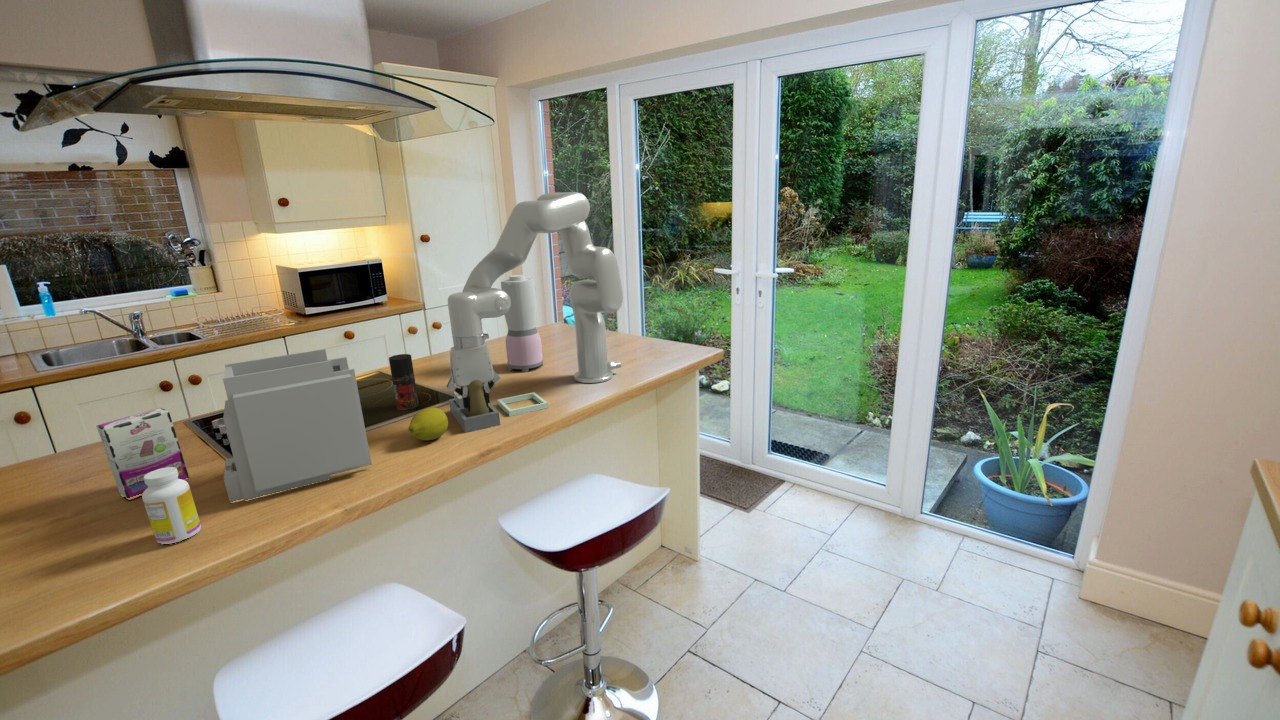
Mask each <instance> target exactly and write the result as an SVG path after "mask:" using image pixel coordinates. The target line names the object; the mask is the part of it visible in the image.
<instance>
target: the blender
mask: <svg viewBox="0 0 1280 720" xmlns="http://www.w3.org/2000/svg"><path fill="white" fill-rule="evenodd" d="M500 286H501V287H500V289H501V290H503V291H505V292H506V293H507V294H508V295H509V297H510V300H511V306H510V309H509V310H508V312H507V313H506V314H504V315H503V316H504V319H505V322H506V325H507V334H506V337H505V350H506V351H505V352H506V359H507V368H508V371H510V372H512V371H513V369H514V370H521V372H522V373H529V371H530V370H529V369H533V368H537V367H540V366H543V367H544V358H543V347H542V339H541V336H540V335H541V334H539V332H538V329H537V313H538V312H537V311H538V305H537V291H536V285H535V280H534V279H533V278H532V277H526V276H525V274H513V275H509V277H508V278H505V279H502V280H501V282H500Z"/></svg>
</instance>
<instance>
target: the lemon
mask: <svg viewBox="0 0 1280 720" xmlns="http://www.w3.org/2000/svg"><path fill="white" fill-rule="evenodd" d="M448 427H449V420H448V417H447V415H446V412H444V411H443V410H442V409H440V408H438V407H427V408H423V409H421V410H420V411H418V412H417V413H416V414H414V416H413V417H412V418H411V420H410V423H409V426H408V432H409V433H410V435H411V436H413V437H414V438H415V439H418V440H420V441H433V440H436V439H438V438H440V437H441V436H442V435H444V434H445V432H446V431H447V429H448Z"/></svg>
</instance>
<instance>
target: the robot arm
mask: <svg viewBox="0 0 1280 720" xmlns="http://www.w3.org/2000/svg"><path fill="white" fill-rule="evenodd" d="M590 211H591V204H590V201H589V199H588V198H587V197H586V195H584V194H583V193H582V192H577V191H565V192H562V191H561V192H557V191H556V192H547V193H543V194H541V195H540V196H539V197H538V196H537V198H536V200H525V201H520V202H518V203H517V204H516V205H515V206H514V207H513V209H512V210H511V213H510V215H509V217H508V219H507V221H506V224H505V225H504V228H503V229H502V233H501V235H500V236H499V238H498V240H497V243H496V245H495V247H494V248H493V249H492V250H491V251H489V252H488V253H487V254H486V255H485V256H484V257H483V258H482V259H481V260H480V261H479V262H478V263H477V264H476V265H475V266H474V268H473V269H472V271H471V272H470V273H469V275H468V278H467V280H466V283H465V284H464V287H463V288H462V291H461V292H460V291H459V292H456V293H452V294H450V295H449V296H448V297H447V307H448V315H449V321H450V329H451V335H452V345H453V346H452V347H450V350H449V351H450V352H449V356H450V357H449V359H450V360H449V361H450V363H449V364H450V366H449V367H450V378H449V379H448V382H447V385H446V389H447V390H448V391H451V392H453V393H454V392H456V393H458V394H460V395H461V396H462V398H463V405H464V408H466V409H467V408H468V411H469V412H470V397H468V394H467V393H468V388H467V386H468V385H469V384H470V382H472V381H473V380H481V381H482V382H483V383H484V386H483V390H484V398H485V401H486V405H487V408H488V403H490V404H491V402H490V401H491V400H490V392H491V390H492V389H493V387H494V386H495V384H497V383H498V382H499V381H500V380H501V376H500V375H499V374H498V373H497V372H496V371H495V370H494V368H493V363H492V358H491V353H490V350H489V347H488V344H487V342H485V341H486V340H488V339H490V336H489V333H484V332H483V331H484V330H483V324H482V322H483V321H482V320H483V319H490V318H491V319H492V318H493V319H494V318H500V317H502V316H505V315H504V314H506V313H507V312H508V310H509V309H510V306H511V300H510V297H509V295H508V294H507V293H506V292H505V291H503V290H501V288H496V287H492V286H493V285H494V283H495V282H496V281H497V279H499V278H500V277H501V276H503V275H504V274H506V273H508V272H510V271H512V270H514V269H516V268H518V267H520V266H521V265H523V264H524V263H525V262H526V260H527V258H528V256H529V253H530V252H531V248H532V247H533V244H534V242H535V240H536V238H537V236H538V234H553V233H557V232H558V233H559V235H560V237H561V241H562V245H563V251H564V254H565V259H566V263H567V267H568V270H569V273H570V274H571V275H572V276H574V277H576V278H581V279H582V280H578V281H576V282H574V283H573V285H572V286H571V287H570V291H569V300H570V301H569V302H570V304H571V308H572V312H573V318H574V319H573V320H574V328H575V341H576V343H575V344H576V355H577V358H576V359H577V369H578V370H577V372H575V373H574V374H573V379H574V381H576V382H578V383H582V384H583V383H585V384H596V383H602V382H606V381H607V382H608V380H611V379H612V378H613V376H614V373H613V370H615V369H621V368H622V363H621V362H620V361H618V362H614V361H610V362H609V361H608V354H607V353H608V352H607V351H608V350H607V348H608V347H607V337H606V336H607V335H606V334H607V333H606V332H607V331H606V322H605V318H604V315H603V314H613V313H614V314H615V313H616V312H618V311H619V310H620V309H621V308H622V305H623V299H624V295H623V286H622V281H621V277H620V276H621V275H620V269H619V264H618V260H617V257H616V256H615V254H614V252H613V251H612V250H611V249H610V248H608V247H604V246H595V245H594V244H593V242H592V241H593V240H592V238H591V233H590V229H589V227H588V224H587V222H586V220H587V218H588V217H589V214H590ZM583 278H584V279H583ZM591 279H592V280H591ZM593 279H594V280H593Z"/></svg>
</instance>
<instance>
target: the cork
mask: <svg viewBox="0 0 1280 720" xmlns="http://www.w3.org/2000/svg"><path fill="white" fill-rule="evenodd" d="M483 386H484V383H483V382H482V381H481V380H473V381H472V382H470V384H469V385H468V386H467V388H468V393H467V394H468V397H470V412H469V411H468V408H467V417H472V416H476V415H481V414H486V413H490V412H489V409H488V408H487V405H486V401H485V398H484V390H483Z"/></svg>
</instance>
